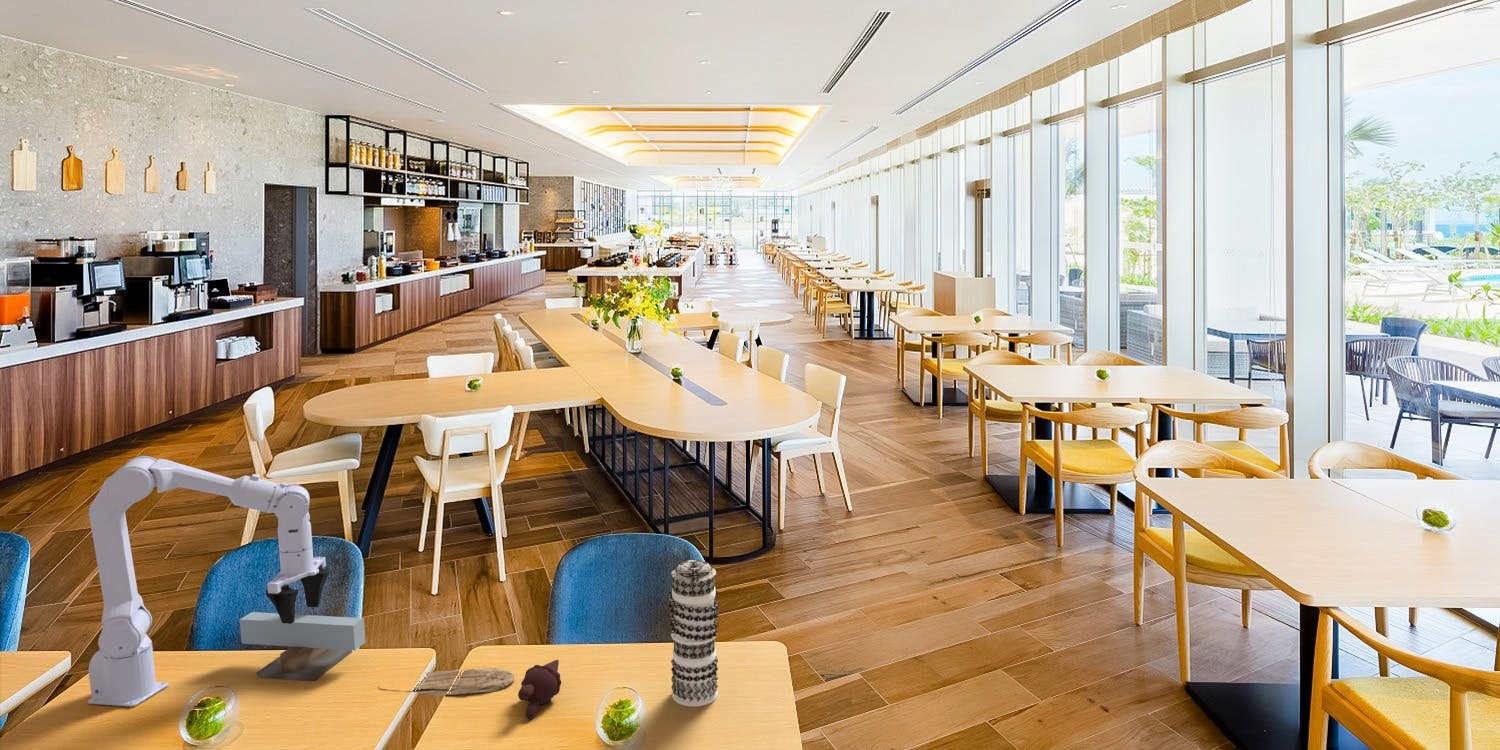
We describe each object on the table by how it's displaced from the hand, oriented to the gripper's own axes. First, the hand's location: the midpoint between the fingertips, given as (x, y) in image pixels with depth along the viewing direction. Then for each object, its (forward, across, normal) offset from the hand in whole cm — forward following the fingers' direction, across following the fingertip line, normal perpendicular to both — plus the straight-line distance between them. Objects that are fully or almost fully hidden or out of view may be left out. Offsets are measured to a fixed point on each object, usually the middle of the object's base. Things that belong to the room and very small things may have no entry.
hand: (300, 614), depth 164 cm
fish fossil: (+11, -3, -31) cm, 33 cm away
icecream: (+11, -7, -52) cm, 53 cm away
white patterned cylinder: (+11, -2, -79) cm, 80 cm away
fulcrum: (+10, 0, 0) cm, 10 cm away
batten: (+6, 0, 0) cm, 6 cm away
